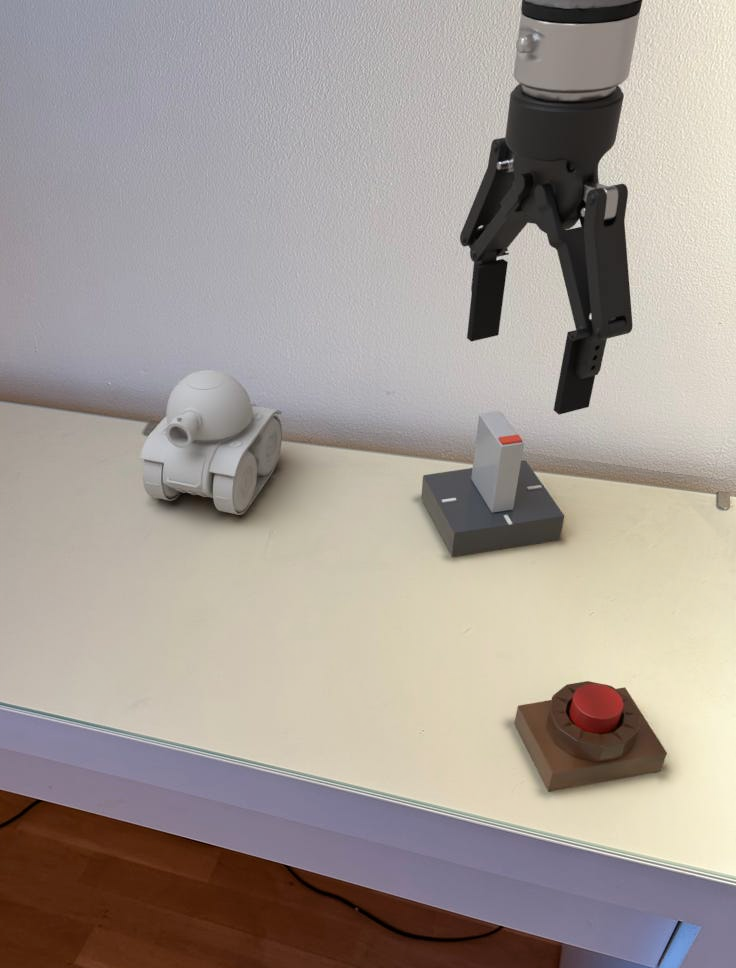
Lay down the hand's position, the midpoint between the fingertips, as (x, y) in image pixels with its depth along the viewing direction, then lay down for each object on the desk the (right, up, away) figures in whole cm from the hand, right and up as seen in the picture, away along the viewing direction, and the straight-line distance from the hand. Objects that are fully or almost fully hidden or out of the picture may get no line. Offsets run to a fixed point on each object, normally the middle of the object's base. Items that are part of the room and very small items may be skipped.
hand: (524, 371), depth 80 cm
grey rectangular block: (+1, -8, +15) cm, 17 cm away
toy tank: (-27, -6, +24) cm, 36 cm away
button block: (+3, -31, -5) cm, 31 cm away
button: (+3, -28, -7) cm, 29 cm away
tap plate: (+1, -10, +17) cm, 20 cm away
